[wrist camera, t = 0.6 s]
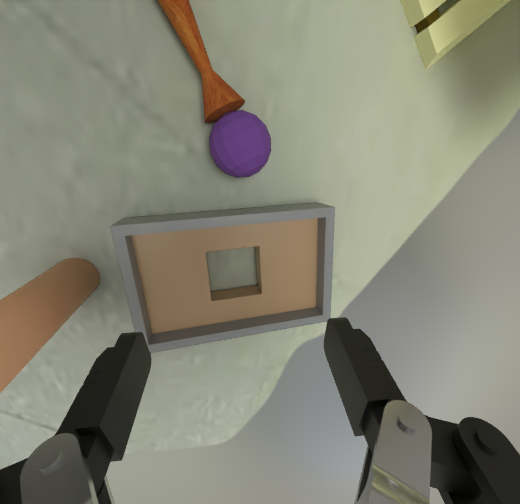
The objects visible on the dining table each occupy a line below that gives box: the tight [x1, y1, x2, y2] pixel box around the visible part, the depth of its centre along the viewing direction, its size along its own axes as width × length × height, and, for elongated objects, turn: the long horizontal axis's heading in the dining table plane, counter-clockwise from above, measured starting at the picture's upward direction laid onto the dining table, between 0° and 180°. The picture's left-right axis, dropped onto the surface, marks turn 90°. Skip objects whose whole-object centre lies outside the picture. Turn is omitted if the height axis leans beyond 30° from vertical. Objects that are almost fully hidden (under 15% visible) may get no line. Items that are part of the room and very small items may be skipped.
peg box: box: [110, 202, 335, 353], centre depth 29 cm, size 14×22×4 cm, turn 93°
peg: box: [0, 258, 100, 393], centre depth 20 cm, size 4×4×16 cm
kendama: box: [158, 0, 271, 177], centre depth 23 cm, size 6×6×20 cm
